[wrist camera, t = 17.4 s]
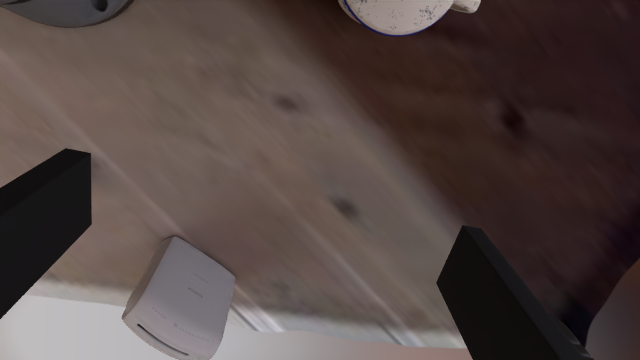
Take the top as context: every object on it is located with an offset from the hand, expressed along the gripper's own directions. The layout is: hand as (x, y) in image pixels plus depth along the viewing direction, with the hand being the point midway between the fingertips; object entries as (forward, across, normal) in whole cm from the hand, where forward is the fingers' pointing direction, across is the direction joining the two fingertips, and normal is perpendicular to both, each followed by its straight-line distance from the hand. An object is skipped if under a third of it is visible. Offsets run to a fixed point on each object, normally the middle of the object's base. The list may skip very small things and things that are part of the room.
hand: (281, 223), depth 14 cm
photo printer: (+27, -7, -24) cm, 37 cm away
